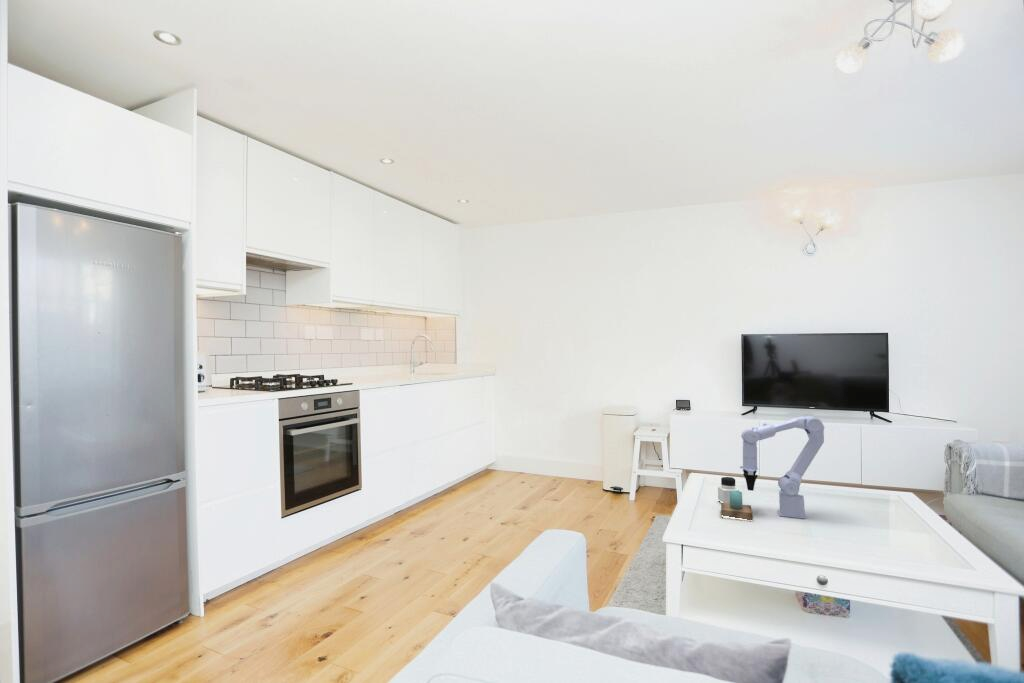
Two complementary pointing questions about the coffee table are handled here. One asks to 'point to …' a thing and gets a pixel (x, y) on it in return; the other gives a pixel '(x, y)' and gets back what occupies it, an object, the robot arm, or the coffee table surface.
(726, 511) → the walnut block
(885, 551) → the coffee table surface
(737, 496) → the teal tin
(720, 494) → the medicine bottle
